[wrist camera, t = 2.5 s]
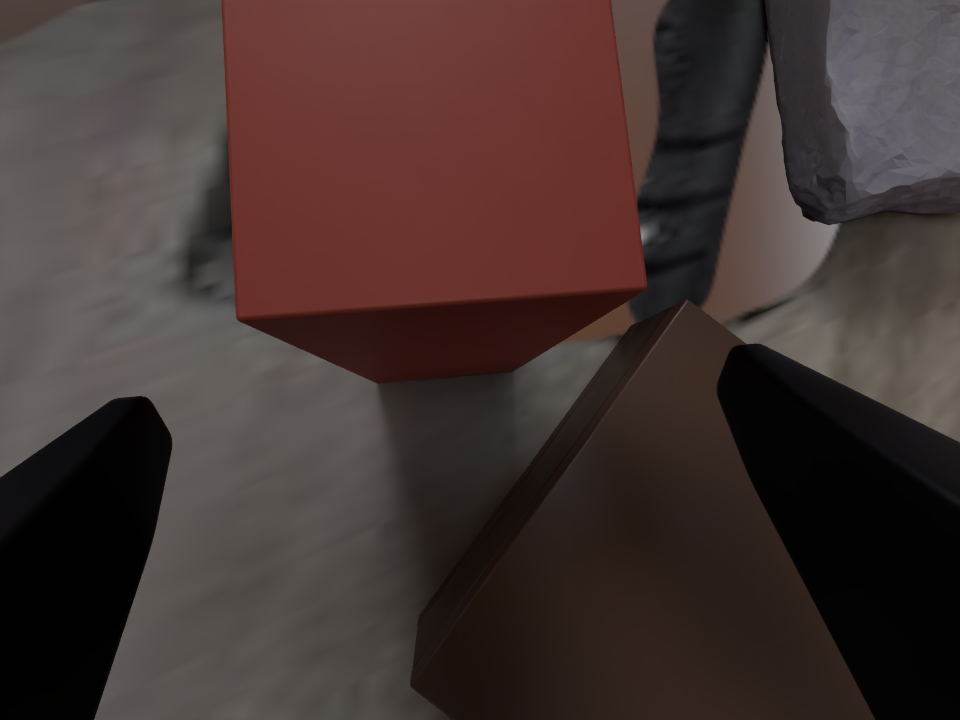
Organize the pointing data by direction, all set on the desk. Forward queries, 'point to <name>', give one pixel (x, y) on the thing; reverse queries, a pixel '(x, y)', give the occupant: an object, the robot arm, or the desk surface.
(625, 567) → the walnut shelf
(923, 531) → the robot arm
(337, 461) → the desk surface
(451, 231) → the pillar block
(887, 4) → the stone block
